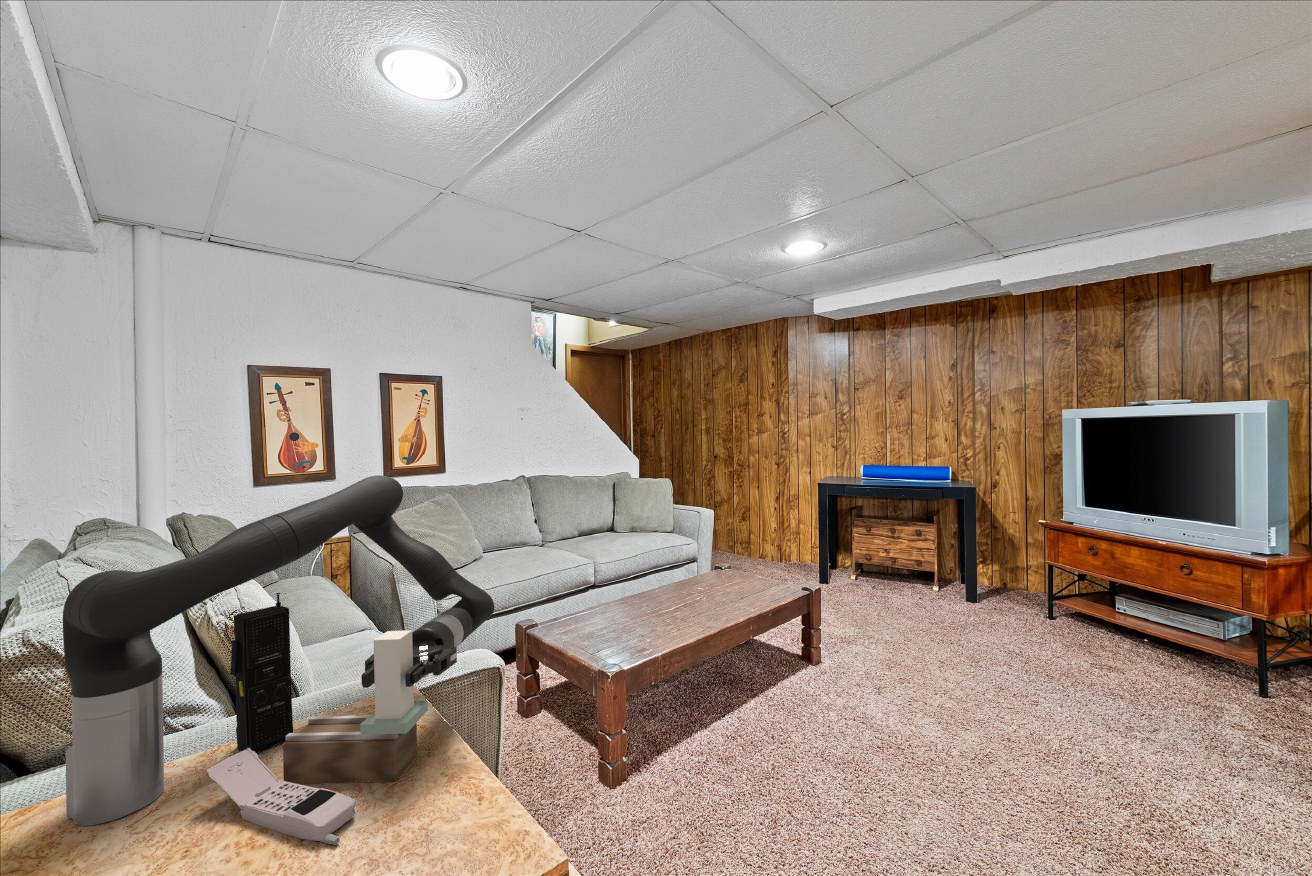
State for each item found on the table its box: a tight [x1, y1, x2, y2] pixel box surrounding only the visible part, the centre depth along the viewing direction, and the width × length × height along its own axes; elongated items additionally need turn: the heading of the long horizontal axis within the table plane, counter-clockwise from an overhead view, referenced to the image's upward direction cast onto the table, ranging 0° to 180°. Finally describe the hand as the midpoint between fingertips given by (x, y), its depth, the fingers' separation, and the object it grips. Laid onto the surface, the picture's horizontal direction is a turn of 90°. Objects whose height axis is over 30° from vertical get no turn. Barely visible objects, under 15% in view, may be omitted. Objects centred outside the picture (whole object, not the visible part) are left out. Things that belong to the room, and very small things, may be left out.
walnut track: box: [282, 714, 418, 785], centre depth 83 cm, size 17×7×7 cm, turn 88°
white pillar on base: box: [360, 629, 429, 734], centre depth 83 cm, size 7×7×14 cm
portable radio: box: [229, 592, 294, 754], centre depth 91 cm, size 8×6×25 cm
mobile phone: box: [205, 748, 356, 846], centre depth 73 cm, size 6×6×25 cm
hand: (386, 680), depth 81 cm, fingers open, 6 cm apart
